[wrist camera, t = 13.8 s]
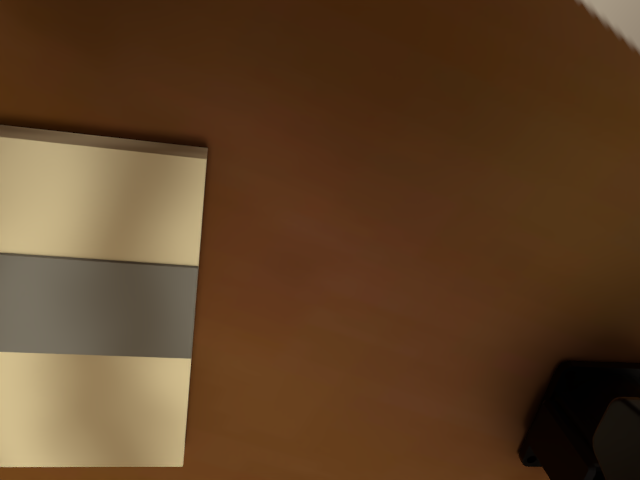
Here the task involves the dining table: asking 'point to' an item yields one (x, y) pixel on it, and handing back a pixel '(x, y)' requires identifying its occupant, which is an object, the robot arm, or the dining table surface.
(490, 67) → the dining table surface
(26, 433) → the subfloor board
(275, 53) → the dining table surface
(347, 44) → the dining table surface
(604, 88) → the dining table surface
